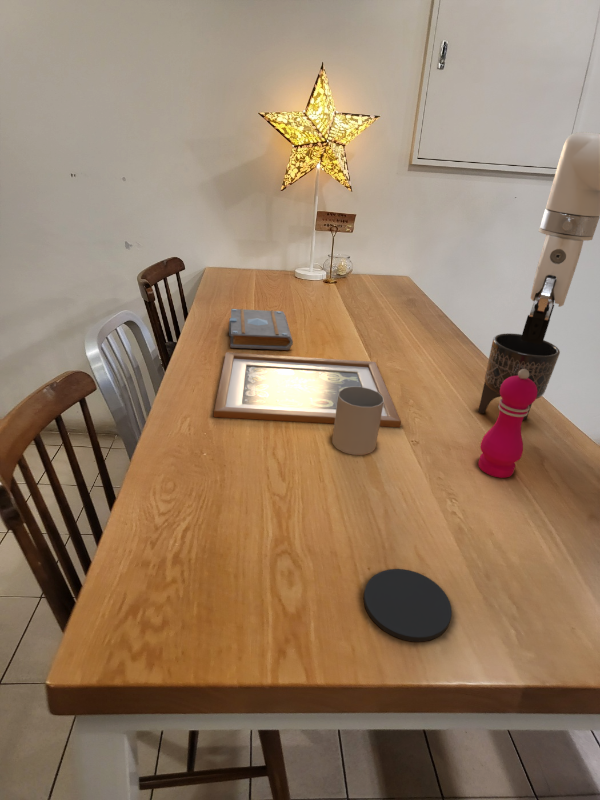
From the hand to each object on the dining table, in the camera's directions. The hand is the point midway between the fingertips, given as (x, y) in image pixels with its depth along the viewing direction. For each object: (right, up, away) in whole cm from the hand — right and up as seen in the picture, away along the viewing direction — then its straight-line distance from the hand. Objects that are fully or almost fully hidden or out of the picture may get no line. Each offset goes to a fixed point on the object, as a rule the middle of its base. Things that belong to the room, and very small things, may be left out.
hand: (534, 333), depth 88 cm
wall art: (-37, -8, +35) cm, 52 cm away
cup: (-28, -19, +15) cm, 37 cm away
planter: (+6, -15, +30) cm, 34 cm away
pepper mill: (-2, -24, +12) cm, 27 cm away
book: (-50, +7, +62) cm, 80 cm away
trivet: (-25, -37, -19) cm, 48 cm away
